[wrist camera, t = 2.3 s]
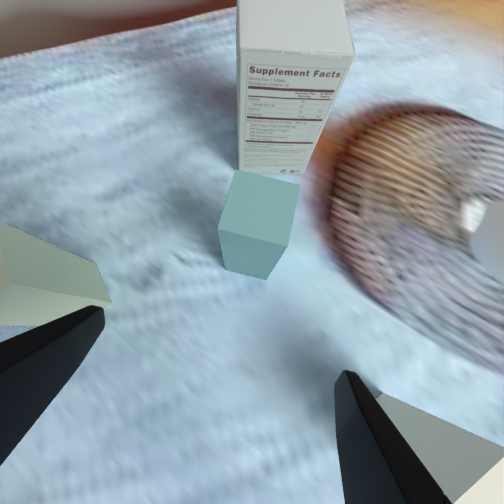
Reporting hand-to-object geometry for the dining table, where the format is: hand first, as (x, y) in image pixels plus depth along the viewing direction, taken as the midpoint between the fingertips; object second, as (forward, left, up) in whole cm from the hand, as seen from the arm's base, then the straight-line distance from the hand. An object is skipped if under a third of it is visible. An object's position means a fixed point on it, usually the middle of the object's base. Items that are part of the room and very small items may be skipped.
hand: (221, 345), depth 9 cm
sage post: (-10, +9, -13) cm, 19 cm away
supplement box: (+13, +15, -13) cm, 24 cm away
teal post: (+5, +5, -13) cm, 15 cm away
